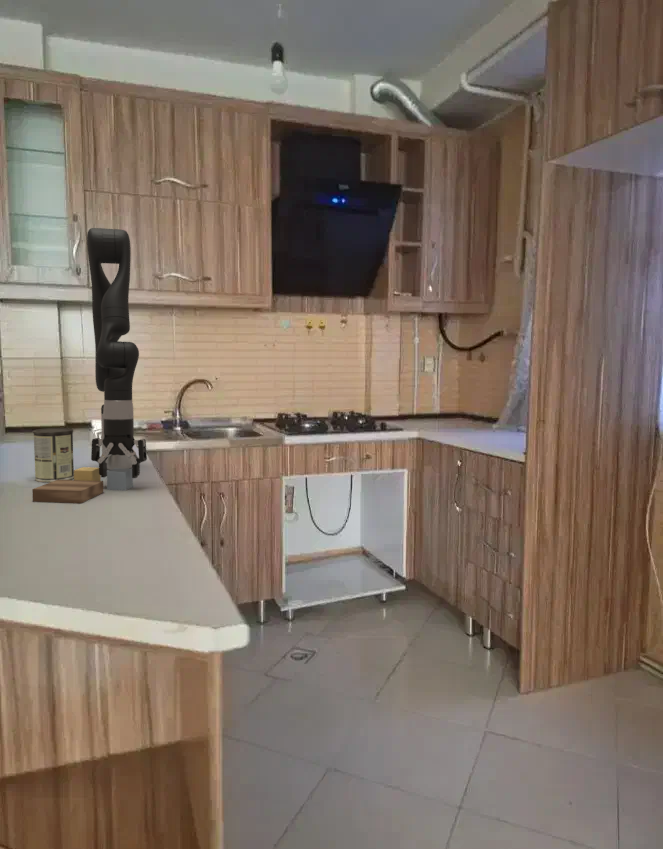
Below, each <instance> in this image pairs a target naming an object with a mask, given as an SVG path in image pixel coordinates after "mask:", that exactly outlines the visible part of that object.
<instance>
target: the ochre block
mask: <svg viewBox="0 0 663 849" xmlns="http://www.w3.org/2000/svg"><path fill="white" fill-rule="evenodd" d="M101 478H102V477H101V475H100V474H99V467H93V466H92V467H91V466H90V467H88V466H85V467H84V466H82V467H80V468H76V469H74V478H73V480H84V481H102V480H101Z"/></svg>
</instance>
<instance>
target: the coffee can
mask: <svg viewBox="0 0 663 849" xmlns="http://www.w3.org/2000/svg"><path fill="white" fill-rule="evenodd" d="M32 433H33V447H34V448H33V449H34V450H33V451H34V453H33V454H34V473H35V474H34V475H35V479H34V481H36V482H38V483H39V482H42V483H50V482H53V481H56V480H74V470H75V469H74V466H75V465H74V438H73V437H74V436H73V434H74V429H73V428H68V427H52V428H51V427H50V428H38V429H33V431H32Z"/></svg>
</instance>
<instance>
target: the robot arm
mask: <svg viewBox="0 0 663 849" xmlns="http://www.w3.org/2000/svg"><path fill="white" fill-rule="evenodd" d="M130 240H131V239H130V235H129V233H128V232H127V231H126V230H124V229H120V228H119V229H118V228H104V227H102V228H101V227H91V228H89V229H88V231H87V234H86V249H87V257H88V264H89V265H88V266H89V274H90V280H91V283H90V284H91V303H92V304H91V306H92V307H91V309H92V310H91V312H92V324H93V334H94V344H95V347H94V348H95V349H94V350H95V351H94V352H95V362H94V363H95V364H94V365H95V368H94V369H95V373H94V374H95V386H96V389H97V390H98V391H100V392H103V396H104V399H103V401H104V402H103V403H104V404H102V405H101V407H100V422H101V437H96V438H92V440H91V456H90V459H91V461H92V462H95V463H96V462H97V464H98V468H99V474H100V475H101V478H107V471H109V470H112V469H114V468H122V469H132V478H133V479H137V478H138V476H140V474H141V472H140V471H141V467H140V466H141V463H144V462H146V461H147V460H148V454H147V441H146V438H142V439H135V438H134V437H135V436H134V434H135V433H134V432H135V431H134V425H135V424H134V403H133V382H134V381H133V380H134V376H135V371H136V368H137V365H138V361H139V358H140V351H139V348H138V346H137V345H136V343H135V342H132V341H119V340H120V339H121V337H122V336H126V335H128V334H129V332H130V328H131V324H130V310H129V309H130V308H129V297H130V296H129V294H130V280H131V259H132V258H131V252H132V251H131V250H132V249H131V241H130ZM102 264H110V265H111V264H113V265H115V264H116V265H118V268H117V273H116V275H115V277H114V279H113V281H112V282H111V283H110V281H109V279H108V277H107V276H106V274H105V271H104V268H103V266H102ZM134 446H136V448H137V449H138V455H137V452H136V451H135V450H134ZM100 455H101V456H100Z"/></svg>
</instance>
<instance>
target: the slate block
mask: <svg viewBox="0 0 663 849" xmlns="http://www.w3.org/2000/svg"><path fill="white" fill-rule="evenodd" d="M133 479H134V478H132V468H129V469H122V468H114V469H112V470H109V469H108V470H107V476H106V491H128V490H129V489H131V488H133V487H134V480H133Z"/></svg>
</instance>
